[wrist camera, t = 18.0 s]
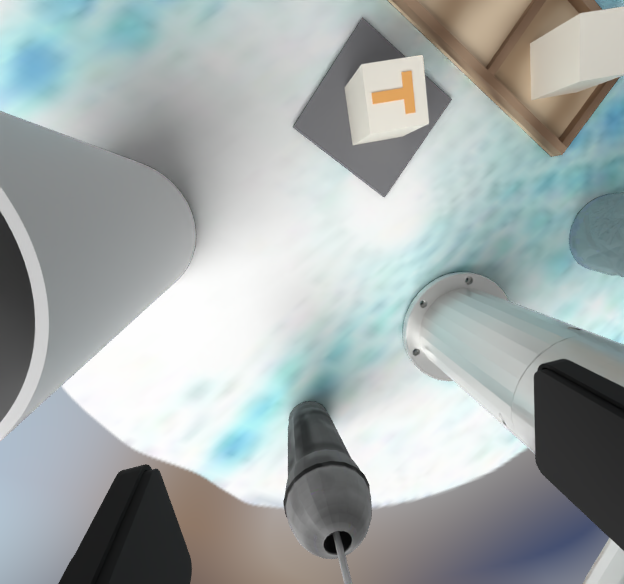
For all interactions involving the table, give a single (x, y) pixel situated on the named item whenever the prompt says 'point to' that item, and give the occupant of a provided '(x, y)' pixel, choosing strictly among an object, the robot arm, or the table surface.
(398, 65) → the letter block
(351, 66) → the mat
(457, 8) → the tray board
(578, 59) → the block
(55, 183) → the cylinder vase
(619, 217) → the grey green pot
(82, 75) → the table surface
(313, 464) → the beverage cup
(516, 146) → the table surface
